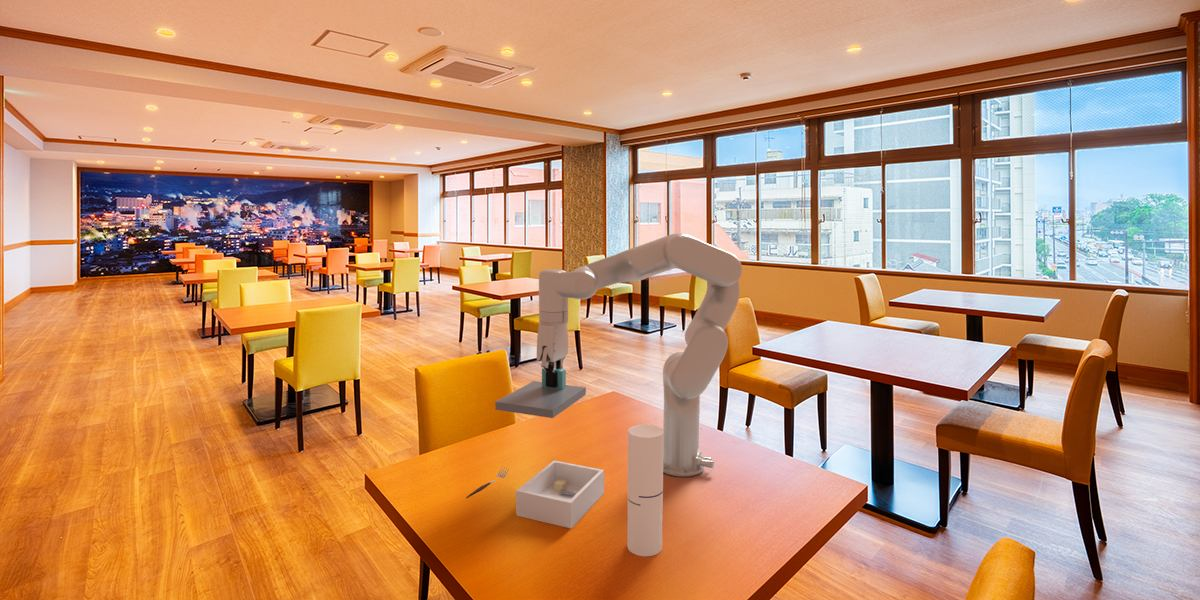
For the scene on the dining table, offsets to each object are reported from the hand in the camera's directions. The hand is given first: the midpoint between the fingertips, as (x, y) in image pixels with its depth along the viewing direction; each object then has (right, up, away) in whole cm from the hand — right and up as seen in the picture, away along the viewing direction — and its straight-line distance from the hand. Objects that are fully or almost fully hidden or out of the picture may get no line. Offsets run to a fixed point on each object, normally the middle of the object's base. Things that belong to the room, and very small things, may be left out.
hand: (553, 385), depth 154 cm
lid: (-2, -3, -6) cm, 7 cm away
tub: (+3, -26, -16) cm, 30 cm away
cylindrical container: (+21, -29, -34) cm, 49 cm away
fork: (-16, -25, -6) cm, 31 cm away
